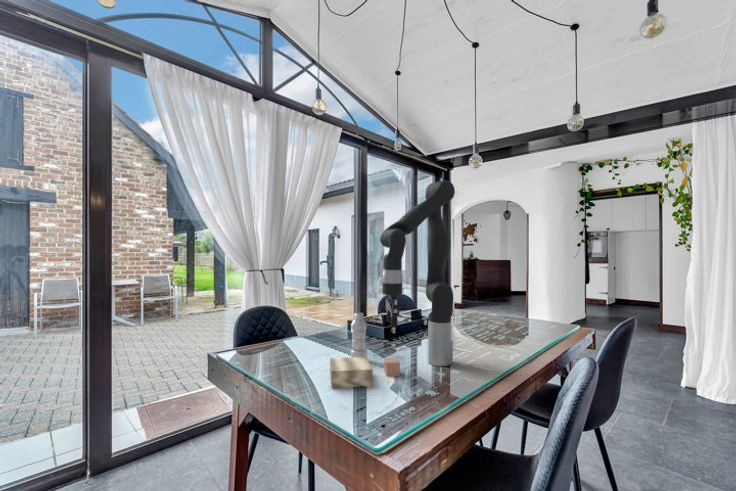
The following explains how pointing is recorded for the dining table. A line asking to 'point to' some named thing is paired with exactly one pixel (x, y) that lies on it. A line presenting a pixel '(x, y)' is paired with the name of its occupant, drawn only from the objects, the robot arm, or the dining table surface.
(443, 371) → the dining table surface
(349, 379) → the beige square slab
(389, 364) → the terracotta block
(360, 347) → the plastic bottle
